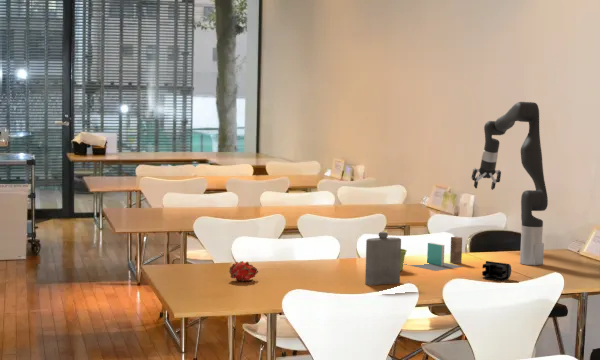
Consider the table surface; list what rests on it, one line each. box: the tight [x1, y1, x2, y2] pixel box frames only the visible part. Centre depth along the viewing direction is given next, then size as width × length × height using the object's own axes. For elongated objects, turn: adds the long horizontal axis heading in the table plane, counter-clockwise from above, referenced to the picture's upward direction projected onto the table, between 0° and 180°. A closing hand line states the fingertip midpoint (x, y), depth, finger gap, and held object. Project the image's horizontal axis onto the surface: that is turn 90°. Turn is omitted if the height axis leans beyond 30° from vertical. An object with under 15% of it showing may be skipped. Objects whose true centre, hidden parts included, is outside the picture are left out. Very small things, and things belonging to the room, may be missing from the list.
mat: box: [404, 262, 463, 272], centre depth 366 cm, size 22×18×1 cm
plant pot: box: [400, 248, 407, 272], centre depth 354 cm, size 9×9×9 cm
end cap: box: [481, 260, 512, 282], centre depth 340 cm, size 10×7×7 cm
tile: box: [426, 242, 445, 266], centre depth 368 cm, size 8×2×9 cm, turn 38°
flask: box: [364, 231, 402, 286], centre depth 325 cm, size 15×6×20 cm, turn 116°
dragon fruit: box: [228, 260, 259, 282], centre depth 325 cm, size 8×8×12 cm
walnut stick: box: [449, 236, 463, 265], centre depth 372 cm, size 4×4×12 cm
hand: (483, 188), depth 427 cm, fingers open, 8 cm apart
